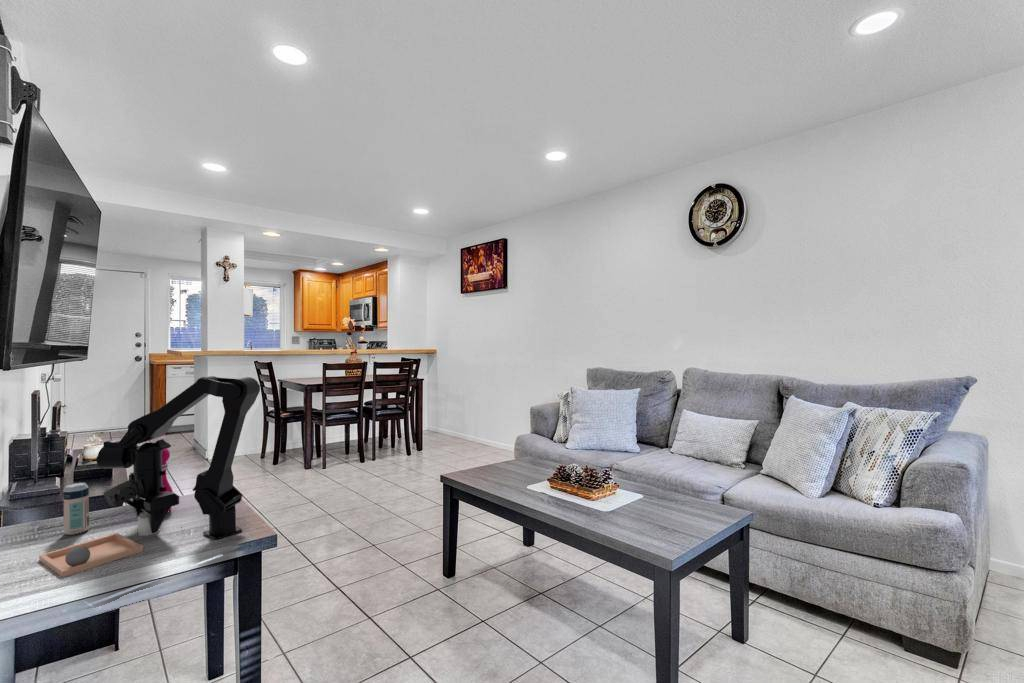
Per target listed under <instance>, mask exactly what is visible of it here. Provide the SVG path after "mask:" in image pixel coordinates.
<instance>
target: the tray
mask: <svg viewBox="0 0 1024 683" xmlns="http://www.w3.org/2000/svg"><path fill="white" fill-rule="evenodd" d="M79 546H83V547H86V548H88V549H89V550H90V558H89V559H88V561H87V562H86V563H84V564H81V565H77V566H74V567H72V566H69V565H68V564H67V563H66V561H65V558H66V555H67V553H68V552H69V551H70V550H71V549H73V548H75V547H79ZM141 552H144V546H143V545H142V544H140V543H138V542H136V541H134V540H132V539H131V538H128V537H126V536H124V535H122V534H120V533H118V532H116V533H115V532H114V533H112V534H109V535H108V534H107V535H106V536H102V537H98V538H95V539H90V540H88V541H84V542H80V543H77V544H73V545H70V546H67V547H64V548H63V547H62V548H60V549H57V550H52V551H49V552H45V553H43V554H39V556H38V557H39V558H38V559H39V562H41V563H43V564H44V565H45V566H46V567H48V568H49V569H51V570H52V571H53V572H55V573H56V574H57V575H58V576H60V577H61V578H64V577H68V576H72V575H74V574H77V573H80V572H83V571H85V570H89V569H92V568H95V567H98V566H102V565H105V564H108V563H111V562H113V561H116V560H120V559H123V558H127V557H129V556H132V555H136V554H138V553H141Z"/></svg>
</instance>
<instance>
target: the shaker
mask: <svg viewBox="0 0 1024 683" xmlns="http://www.w3.org/2000/svg"><path fill="white" fill-rule="evenodd" d="M160 531H161V526H160V527H159V529H158V531H157V532H156V533H152V532H151V528H150V523H149V518H148V513H146V512H144V511H143V512H141V513H140V515H139V516H138V519H137V536H139V537H146V536H152V535H154V534H157V533H159V532H160Z"/></svg>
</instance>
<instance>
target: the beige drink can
mask: <svg viewBox="0 0 1024 683" xmlns="http://www.w3.org/2000/svg"><path fill="white" fill-rule="evenodd" d="M89 491H90V490H89V485H88V484H87V483H86V482H75V483H70V484H67V485H65V486H64V488H63V490H62V497H63V499H62V500H63V501H62V502H63V504H62V505H63V534H65V535H67V536H76V535H80V534H83V533H85V532H87V531H88V530H89V529H90V504H89V503H90V502H89V501H90V497H89V495H90V493H89ZM82 532H83V533H82ZM79 533H80V534H79ZM75 534H76V535H75Z"/></svg>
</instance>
